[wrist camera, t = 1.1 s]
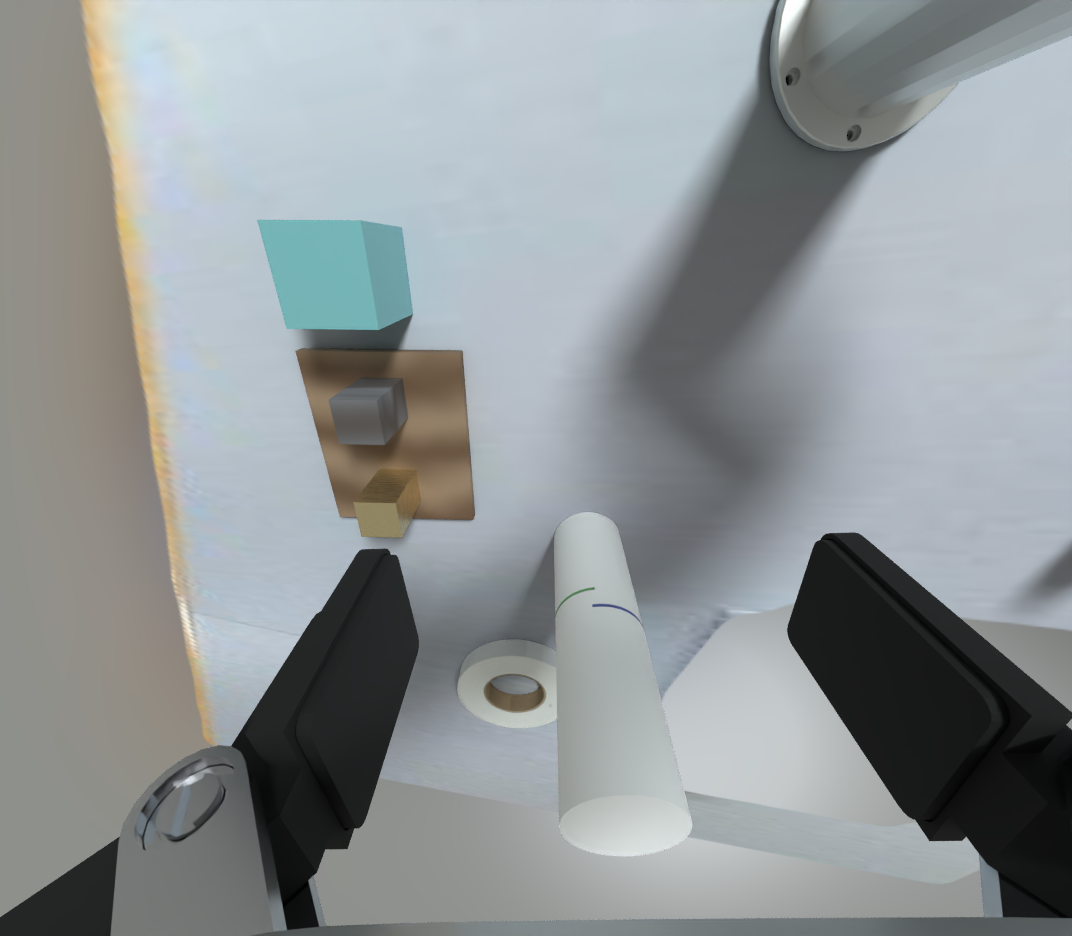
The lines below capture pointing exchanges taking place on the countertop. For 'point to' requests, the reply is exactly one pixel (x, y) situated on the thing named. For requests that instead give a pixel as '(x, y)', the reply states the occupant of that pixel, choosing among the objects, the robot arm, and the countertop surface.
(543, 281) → the countertop surface
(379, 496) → the wooden post
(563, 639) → the cylindrical container
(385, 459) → the walnut board
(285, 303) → the aqua foam cube
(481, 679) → the roll of tape
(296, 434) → the countertop surface
